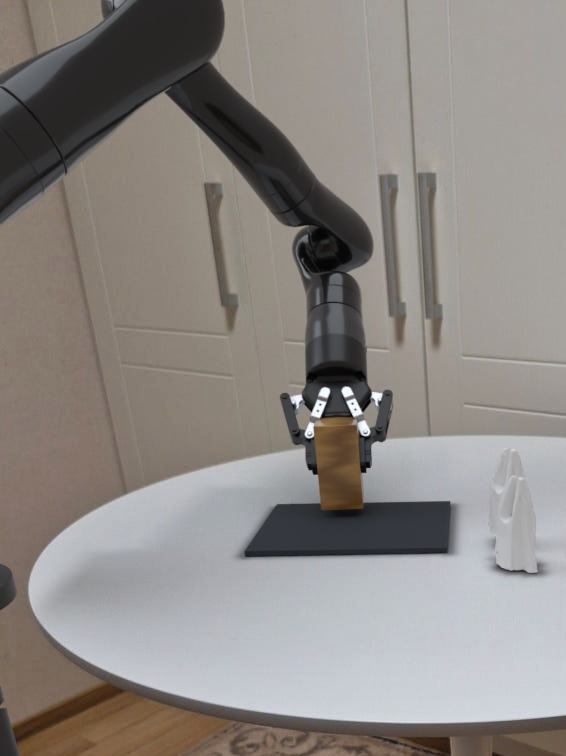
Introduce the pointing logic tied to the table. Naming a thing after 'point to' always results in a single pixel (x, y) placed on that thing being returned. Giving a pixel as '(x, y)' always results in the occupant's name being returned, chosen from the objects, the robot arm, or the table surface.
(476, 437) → the table surface
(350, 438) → the oak block
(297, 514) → the rubber mat
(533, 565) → the shaker set
